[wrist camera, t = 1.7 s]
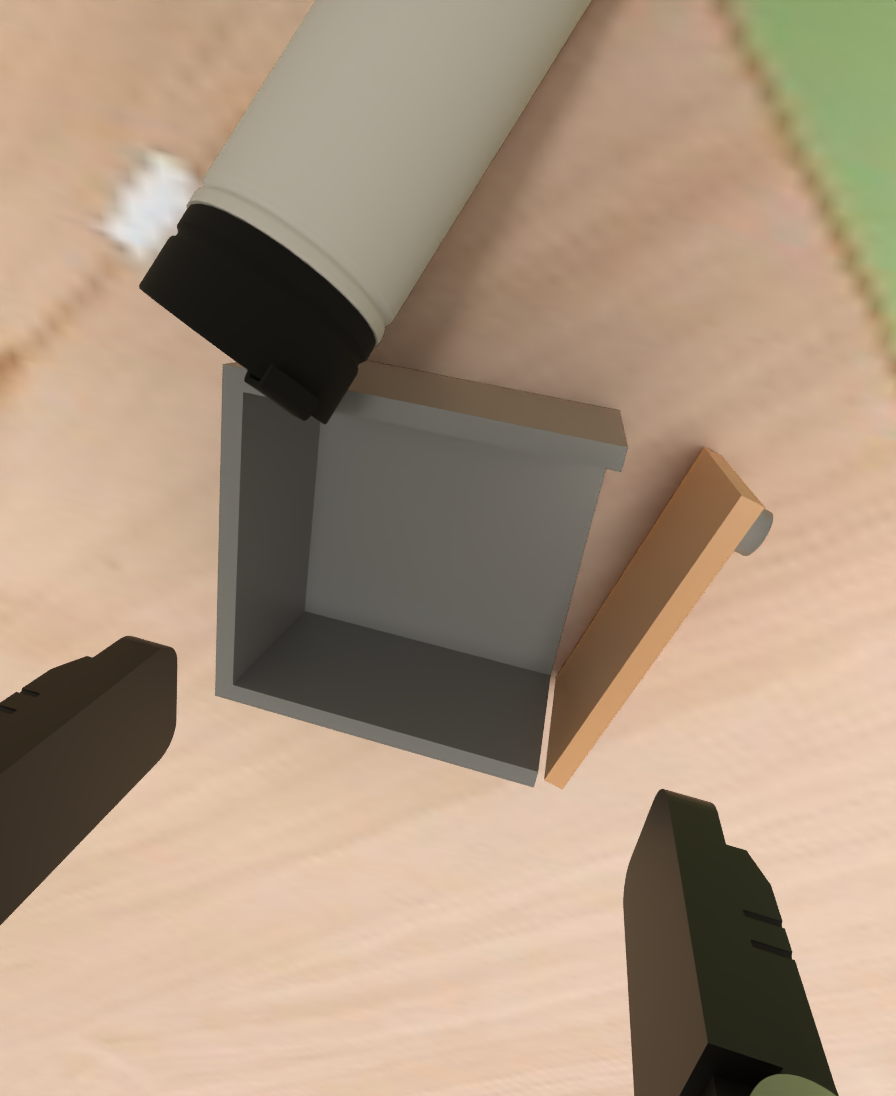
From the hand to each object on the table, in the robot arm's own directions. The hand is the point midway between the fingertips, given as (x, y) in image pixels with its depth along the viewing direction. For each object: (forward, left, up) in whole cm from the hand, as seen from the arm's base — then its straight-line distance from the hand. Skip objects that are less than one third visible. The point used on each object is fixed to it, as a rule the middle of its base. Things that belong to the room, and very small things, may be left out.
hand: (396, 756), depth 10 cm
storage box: (+4, +4, -21) cm, 21 cm away
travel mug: (+2, -21, -18) cm, 27 cm away
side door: (-6, +4, -20) cm, 22 cm away
